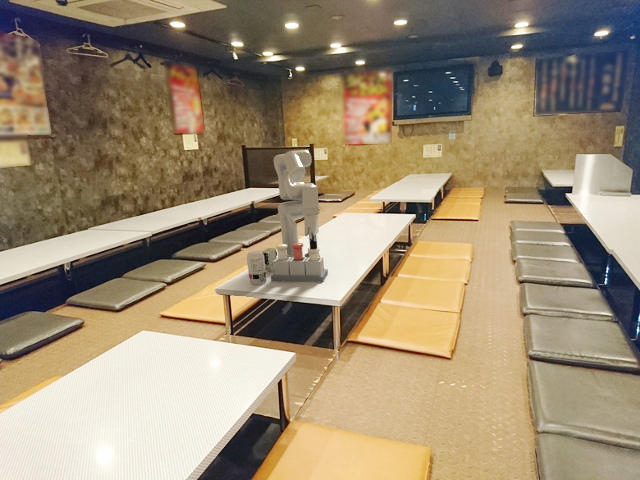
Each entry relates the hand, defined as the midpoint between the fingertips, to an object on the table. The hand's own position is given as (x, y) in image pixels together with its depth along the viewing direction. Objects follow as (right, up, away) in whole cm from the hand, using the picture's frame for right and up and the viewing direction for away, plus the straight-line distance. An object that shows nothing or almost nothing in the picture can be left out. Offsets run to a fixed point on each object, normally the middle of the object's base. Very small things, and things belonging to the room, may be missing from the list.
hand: (313, 248), depth 204 cm
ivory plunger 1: (-15, -6, +5) cm, 17 cm away
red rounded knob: (-8, -6, +3) cm, 10 cm away
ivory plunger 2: (0, -8, +2) cm, 8 cm away
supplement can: (-27, -17, +2) cm, 32 cm away
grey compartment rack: (-7, -14, +6) cm, 17 cm away
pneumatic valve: (-24, -12, +20) cm, 34 cm away
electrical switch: (0, -10, +22) cm, 24 cm away
